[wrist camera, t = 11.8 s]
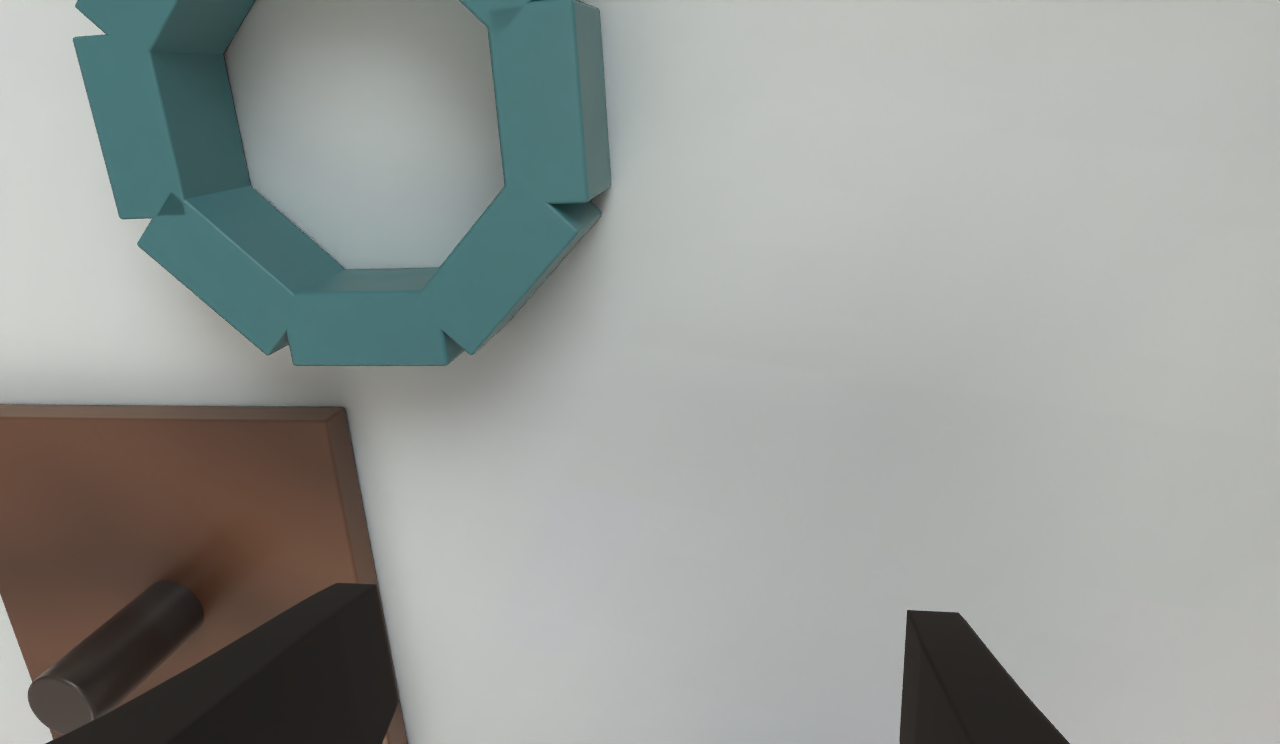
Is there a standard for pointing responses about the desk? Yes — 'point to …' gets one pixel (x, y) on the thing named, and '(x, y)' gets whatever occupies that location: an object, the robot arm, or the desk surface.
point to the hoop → (284, 255)
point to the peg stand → (166, 539)
